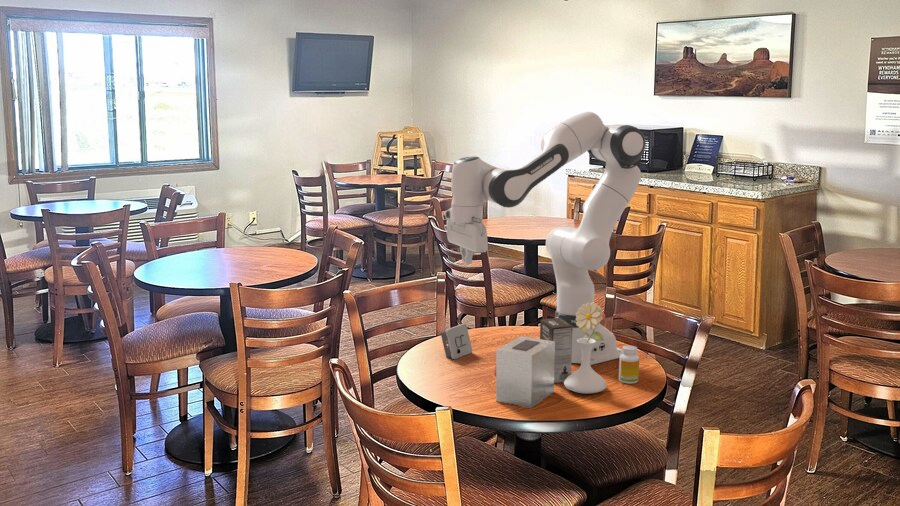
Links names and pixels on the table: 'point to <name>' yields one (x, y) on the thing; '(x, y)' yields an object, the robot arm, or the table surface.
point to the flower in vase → (587, 352)
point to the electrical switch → (456, 341)
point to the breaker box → (525, 371)
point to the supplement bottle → (629, 365)
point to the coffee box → (559, 345)
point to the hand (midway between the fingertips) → (467, 263)
